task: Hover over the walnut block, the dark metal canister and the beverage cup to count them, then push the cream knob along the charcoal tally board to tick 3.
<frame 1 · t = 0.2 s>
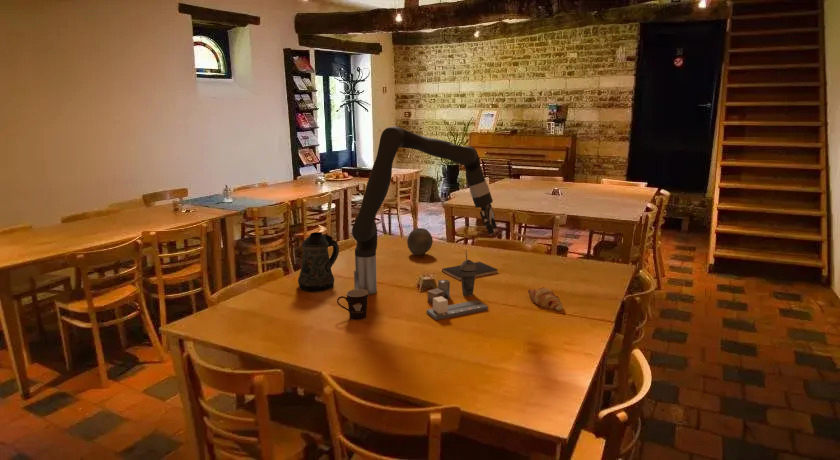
hand: (493, 231, 216), 31 cm above the table, tool tilted 20°, fingers open, 8 cm apart
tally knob: (440, 305, 210), point 4 cm above the table, slide at 0.0 cm
metal canister: (443, 296, 230), on the table
tally board: (457, 311, 214), on the table
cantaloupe: (420, 255, 292), on the table
walnut block: (435, 302, 224), on the table
coffee mug: (354, 316, 210), on the table
beer stein: (318, 285, 245), on the table
beverage cup: (467, 294, 233), on the table
hardcover book: (469, 273, 263), on the table
croissant: (544, 304, 222), on the table
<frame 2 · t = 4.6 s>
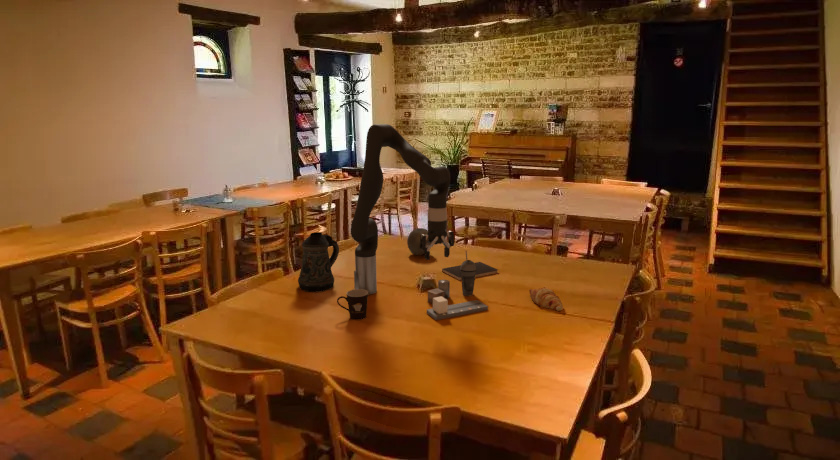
hand: (437, 258, 209), 23 cm above the table, tool pointing down, fingers open, 8 cm apart
nothing on the table moved.
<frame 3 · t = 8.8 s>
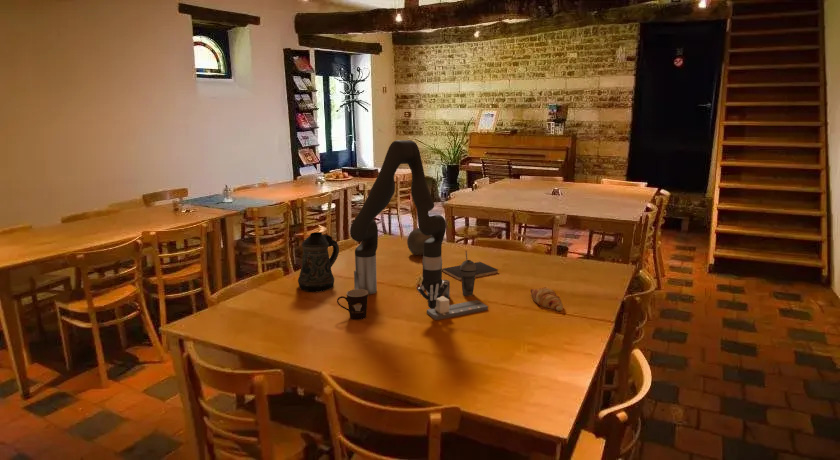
hand: (432, 308, 208), 4 cm above the table, tool pointing down, fingers closed
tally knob: (441, 304, 210), point 4 cm above the table, slide at 0.8 cm, touching gripper
everything else where it was.
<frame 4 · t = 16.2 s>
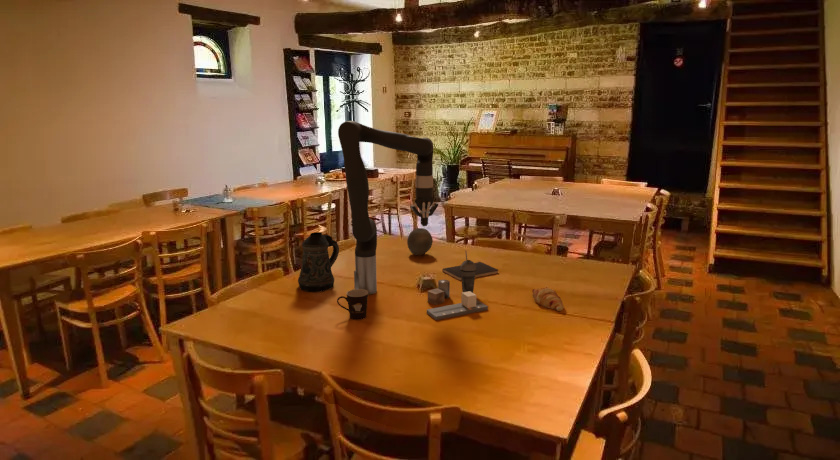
hand: (424, 225, 226), 31 cm above the table, tool pointing down, fingers closed
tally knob: (468, 299, 215), point 4 cm above the table, slide at 13.3 cm
at the end: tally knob slide at 13.3 cm; walnut block moved 0.1 cm from its start; metal canister moved 0.0 cm from its start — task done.
